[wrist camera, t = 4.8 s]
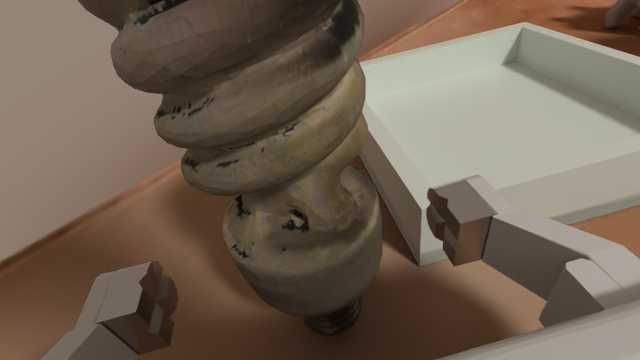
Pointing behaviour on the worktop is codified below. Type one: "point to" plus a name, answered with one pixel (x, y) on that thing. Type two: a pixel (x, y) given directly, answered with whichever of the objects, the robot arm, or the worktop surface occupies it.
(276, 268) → the light bulb
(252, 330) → the worktop surface
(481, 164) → the tray
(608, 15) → the gray elephant figurine
